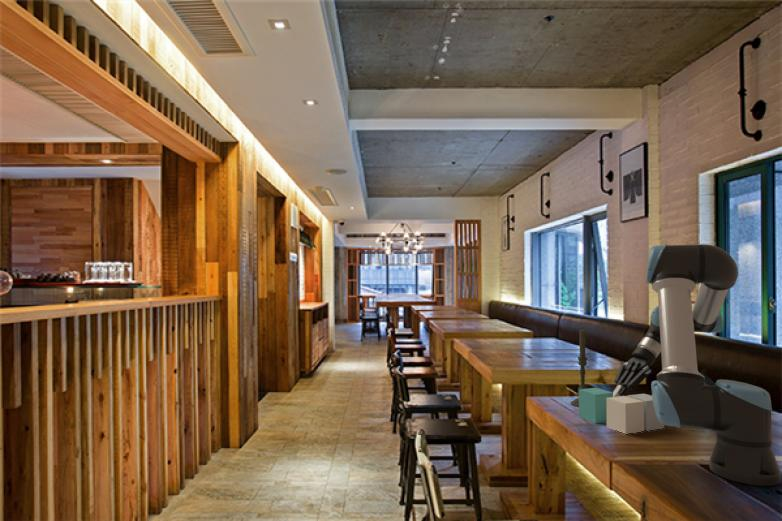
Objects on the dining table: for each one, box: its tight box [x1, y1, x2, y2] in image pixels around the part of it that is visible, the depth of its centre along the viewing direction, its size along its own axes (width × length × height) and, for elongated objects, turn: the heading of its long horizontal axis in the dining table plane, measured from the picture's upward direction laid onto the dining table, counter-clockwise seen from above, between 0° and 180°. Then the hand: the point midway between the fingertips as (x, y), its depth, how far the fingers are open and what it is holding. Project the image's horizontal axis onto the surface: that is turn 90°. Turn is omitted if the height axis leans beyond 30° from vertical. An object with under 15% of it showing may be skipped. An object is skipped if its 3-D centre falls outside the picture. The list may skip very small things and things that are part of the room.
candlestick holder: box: [570, 328, 589, 408], centre depth 199 cm, size 9×9×30 cm
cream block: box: [606, 395, 645, 435], centre depth 167 cm, size 8×8×10 cm
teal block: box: [578, 387, 613, 424], centre depth 180 cm, size 8×8×10 cm
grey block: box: [626, 393, 665, 432], centre depth 171 cm, size 8×8×10 cm
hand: (612, 401), depth 183 cm, fingers closed
